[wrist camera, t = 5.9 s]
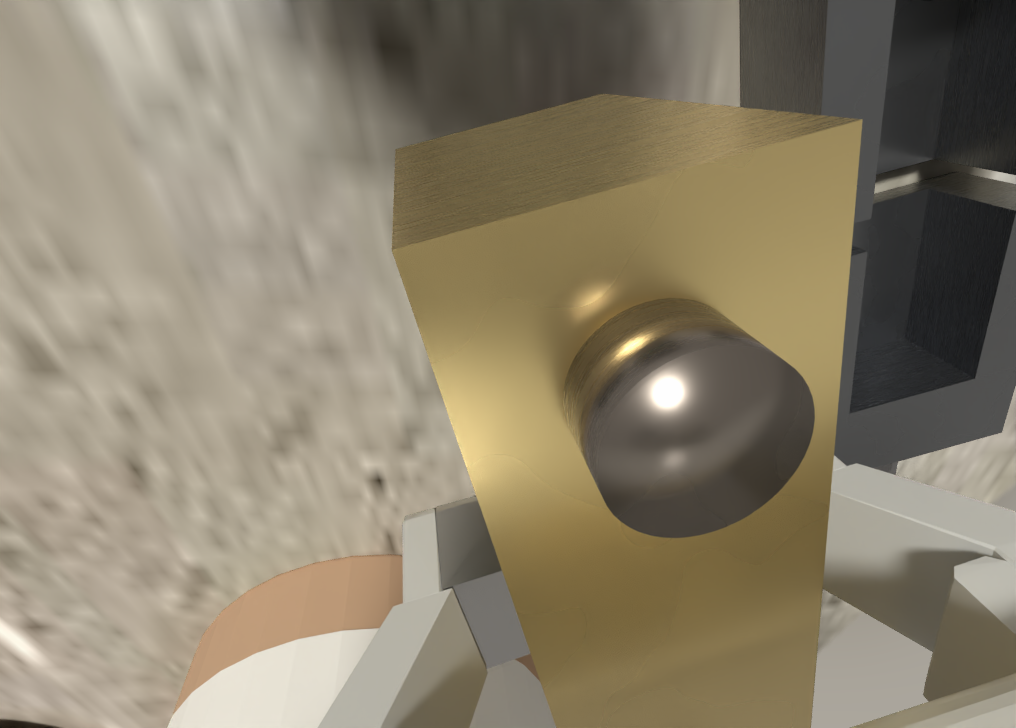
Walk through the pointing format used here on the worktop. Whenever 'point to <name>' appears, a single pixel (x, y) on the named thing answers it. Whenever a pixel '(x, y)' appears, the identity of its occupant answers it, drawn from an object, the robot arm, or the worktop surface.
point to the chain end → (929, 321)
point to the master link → (645, 388)
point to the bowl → (320, 653)
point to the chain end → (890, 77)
